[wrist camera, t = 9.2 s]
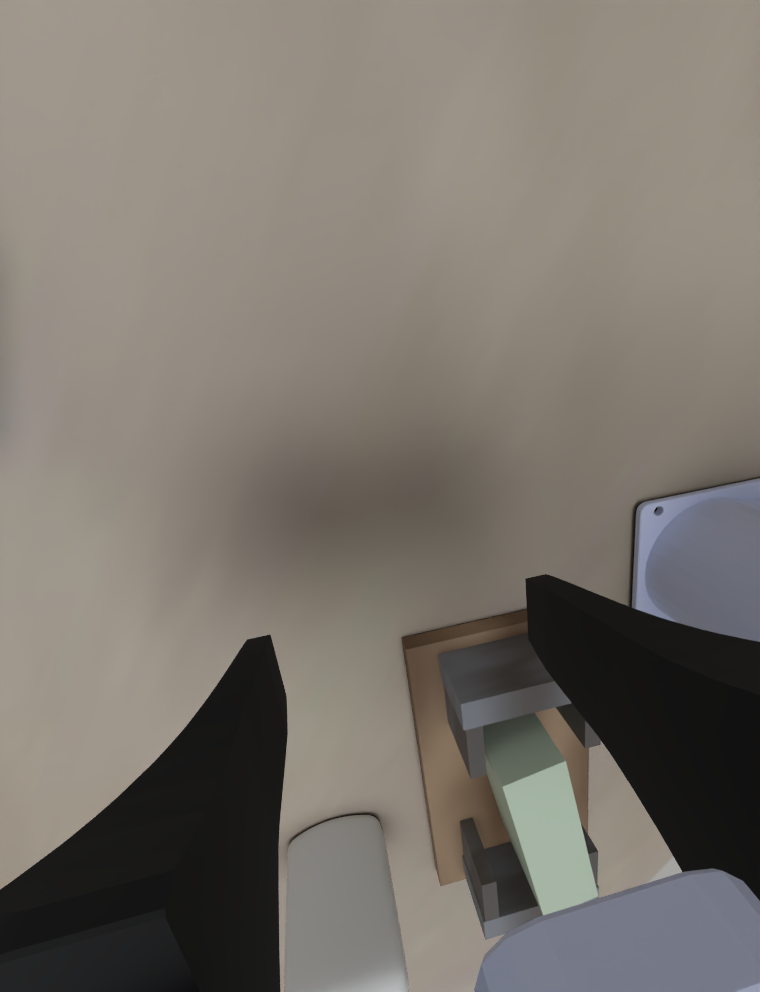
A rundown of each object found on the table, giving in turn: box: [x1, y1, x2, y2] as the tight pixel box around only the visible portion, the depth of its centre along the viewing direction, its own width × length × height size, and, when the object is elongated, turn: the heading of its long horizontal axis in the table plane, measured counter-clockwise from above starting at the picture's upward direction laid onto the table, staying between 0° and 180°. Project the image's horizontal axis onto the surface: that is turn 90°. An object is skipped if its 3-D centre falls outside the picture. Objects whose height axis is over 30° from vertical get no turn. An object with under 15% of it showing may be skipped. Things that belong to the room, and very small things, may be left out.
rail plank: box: [483, 713, 598, 915], centre depth 24 cm, size 3×10×5 cm, turn 18°
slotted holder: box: [402, 610, 600, 940], centre depth 25 cm, size 10×18×4 cm, turn 8°
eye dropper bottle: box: [284, 815, 409, 992], centre depth 22 cm, size 4×6×12 cm
